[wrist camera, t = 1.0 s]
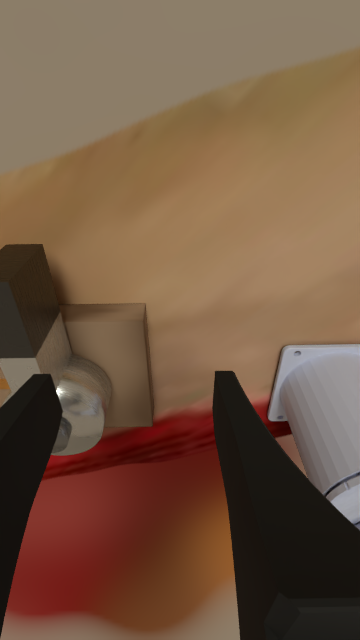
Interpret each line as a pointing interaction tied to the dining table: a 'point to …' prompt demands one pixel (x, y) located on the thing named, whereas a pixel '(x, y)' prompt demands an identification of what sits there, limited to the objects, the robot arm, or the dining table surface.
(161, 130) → the dining table surface
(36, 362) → the lever handle
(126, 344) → the walnut base
